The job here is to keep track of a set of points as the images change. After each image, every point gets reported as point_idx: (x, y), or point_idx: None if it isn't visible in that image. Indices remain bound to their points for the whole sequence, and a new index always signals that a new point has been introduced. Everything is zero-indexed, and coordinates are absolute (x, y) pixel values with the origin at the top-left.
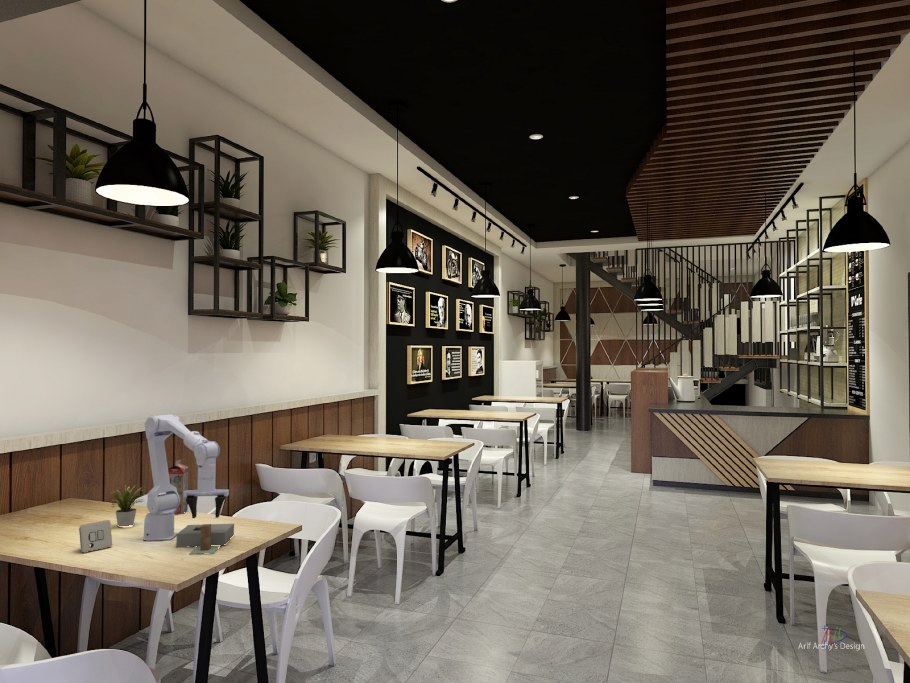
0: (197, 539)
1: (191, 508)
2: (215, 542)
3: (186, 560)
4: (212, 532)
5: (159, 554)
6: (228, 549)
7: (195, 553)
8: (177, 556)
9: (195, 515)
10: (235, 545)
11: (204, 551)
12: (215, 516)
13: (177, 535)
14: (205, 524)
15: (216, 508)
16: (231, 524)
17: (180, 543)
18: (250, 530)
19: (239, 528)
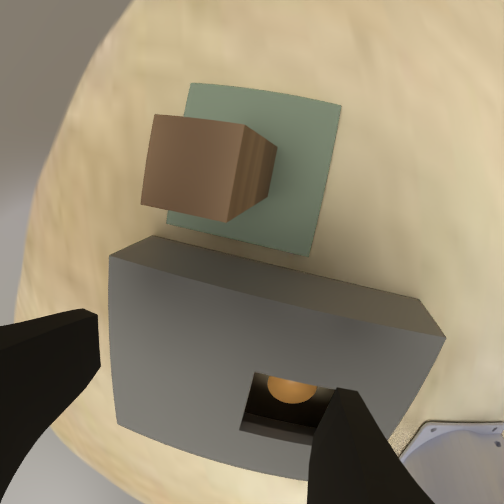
0: (305, 290)
1: (396, 481)
2: (193, 252)
3: (335, 11)
4: (191, 291)
5: (492, 189)
6: (129, 157)
7: (301, 98)
8: (402, 101)
9: (323, 432)
10: (106, 224)
11: (249, 120)
12: (87, 316)
13: (437, 331)
14: (197, 202)
15: (5, 342)
16: (123, 415)
17: (405, 303)
18: (108, 422)
19: (154, 461)
